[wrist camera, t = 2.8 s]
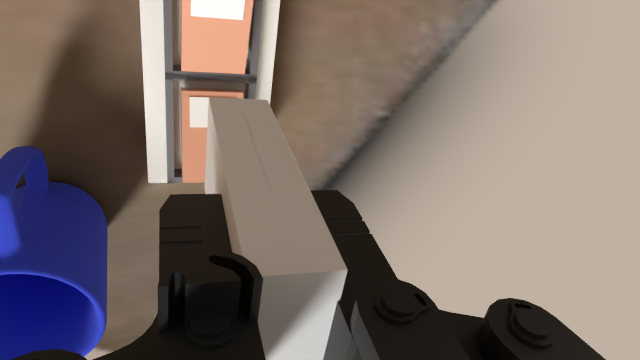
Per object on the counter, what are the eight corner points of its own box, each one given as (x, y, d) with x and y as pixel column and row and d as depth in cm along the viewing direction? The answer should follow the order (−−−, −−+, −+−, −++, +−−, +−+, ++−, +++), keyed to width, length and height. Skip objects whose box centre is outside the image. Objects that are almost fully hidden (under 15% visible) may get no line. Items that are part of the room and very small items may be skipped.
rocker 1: (180, -41, 21) (181, -26, 20) (251, -33, 22) (255, -18, 21) (180, 55, 25) (181, 72, 24) (241, 58, 26) (244, 74, 25)
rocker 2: (180, 87, 26) (181, 90, 24) (239, 89, 27) (243, 92, 25) (181, 175, 27) (182, 183, 26) (237, 174, 28) (241, 181, 27)
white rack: (131, -260, 21) (124, -292, 17) (281, -223, 24) (309, -243, 19) (149, 147, 32) (147, 192, 28) (251, 147, 34) (265, 188, 30)
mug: (105, 110, 30) (85, 200, 22) (123, 254, 36) (113, 364, 28) (-47, 111, 28) (-131, 211, 20) (1, 265, 34) (-48, 388, 26)
